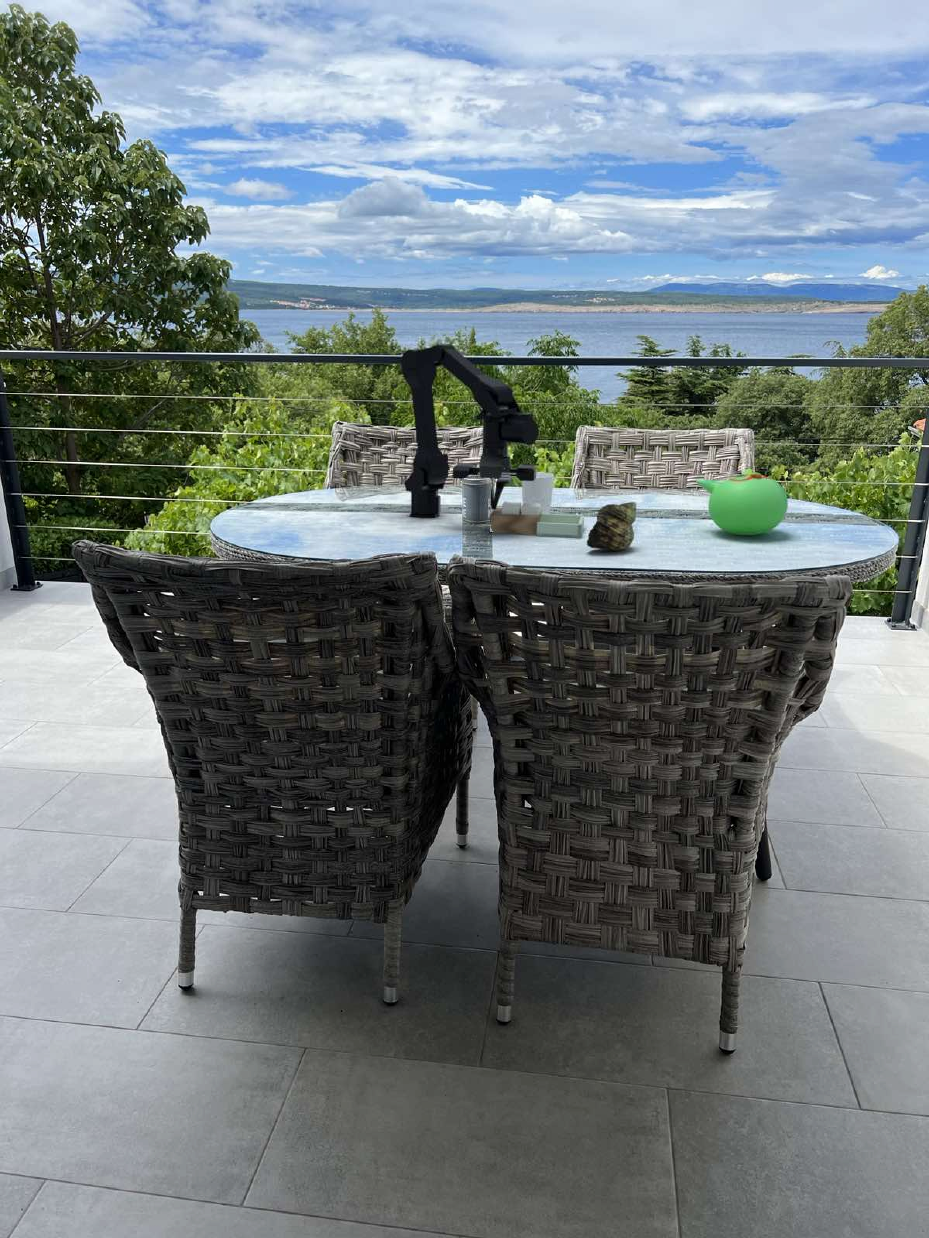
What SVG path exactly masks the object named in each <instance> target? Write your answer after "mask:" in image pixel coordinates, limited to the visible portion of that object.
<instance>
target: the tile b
mask: <svg viewBox="0 0 929 1238" xmlns="http://www.w3.org/2000/svg"><path fill="white" fill-rule="evenodd" d="M540 511H541V504H538V503H523V502H522V504H521V515H538V516H539V514H540Z"/></svg>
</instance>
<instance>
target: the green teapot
mask: <svg viewBox="0 0 929 1238" xmlns="http://www.w3.org/2000/svg"><path fill="white" fill-rule="evenodd" d="M695 483H696V484H697V485H698V486H699V487H701V488H702V489H704V490H706V491H707V492H708V493H709V494H710V495H709V499H708V504H707V505H708V513H709V516H710V518H711V519H712V522H713V523H714V524H715V525H716V526H717V527H718V528H720V529H721V530H723V531H724V532H726V533H729V534H733V535H736V534H737V536H743V535H750V536H757V534H758V535H762V534H765V533H767V532H770V531H771V530H774V529H775V528H777V526H779V525H780V524H781V523H782V522H783V520H784V519H785V517H786V515H787V512H788V507H789V505H788V504H789V503H788V496H787V493H786V491H785V490H784V488H783V487H782V485H781V484H780V483H778V482H777V481H776V480H774V479H772V478H770V477H767V476H765V475H762V474H761V473H760V472H753V469H752V468H747V469H745V470H744V471H743V472H742V473H741V474H736V475H733V476H731V477H728V478H726V479H724V480H722V481H718V480H717V481H716V480H712V479H706V478H699V479H696V480H695Z"/></svg>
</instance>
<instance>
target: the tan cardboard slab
mask: <svg viewBox="0 0 929 1238" xmlns="http://www.w3.org/2000/svg"><path fill="white" fill-rule="evenodd" d="M489 515H490V525H491V529H492V531H493V533H492V534H505V535H506V534H507V535H508V534H510V535H513V534H514V535H527V536H528V535H529V536H537V522H541V511H540V514H539V516H538V515H521V512H520V514H519V515H516V514H502V507H501V508H499V507H496V509H495V510H494V509H492V510H491V513H490V514H489Z"/></svg>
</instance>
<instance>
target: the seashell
mask: <svg viewBox="0 0 929 1238" xmlns="http://www.w3.org/2000/svg"><path fill="white" fill-rule="evenodd" d="M636 512H637V503H636V502H635V501H631V502H624V503H620V504H614V503H612V504H611V503H610V504H606V505H604V506H602V507H601V508H600V509H599V510H598V512H597V515H596V522H595V523H594V525H593V526H592V528H591V529H590V530H589V533H588V534H587V536H588V539H587V541H586V545H587V546H588V547H589V548H590V549H597V550H598V549H599V550H605V551H622V550H626V549H627V548H629V546H631V545H632V544H633V541H634V540H635V531H634V528H633V524H634V523H635V522H636V520H637V519H636V518H637V516H636Z"/></svg>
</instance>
